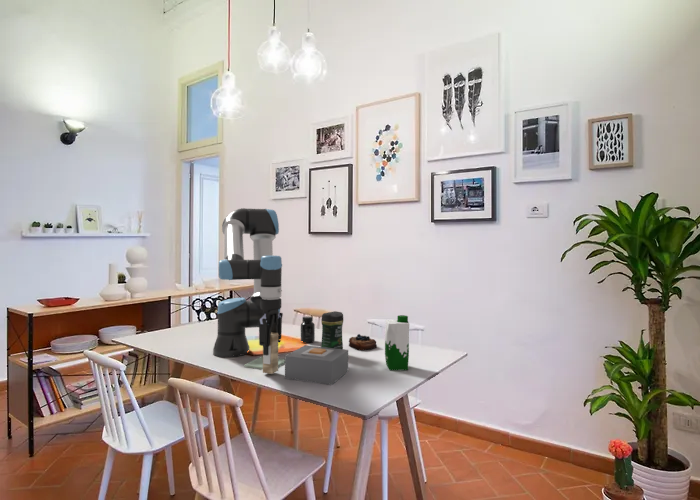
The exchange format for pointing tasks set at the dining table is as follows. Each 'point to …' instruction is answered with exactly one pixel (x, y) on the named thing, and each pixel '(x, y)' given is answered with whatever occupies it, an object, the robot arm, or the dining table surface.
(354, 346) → the pastry
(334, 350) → the grey socket block
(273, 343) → the peg
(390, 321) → the milk carton
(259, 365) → the mat
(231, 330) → the robot arm
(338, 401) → the dining table surface
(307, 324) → the supplement bottle
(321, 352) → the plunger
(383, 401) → the dining table surface
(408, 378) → the dining table surface
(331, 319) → the coffee jar
